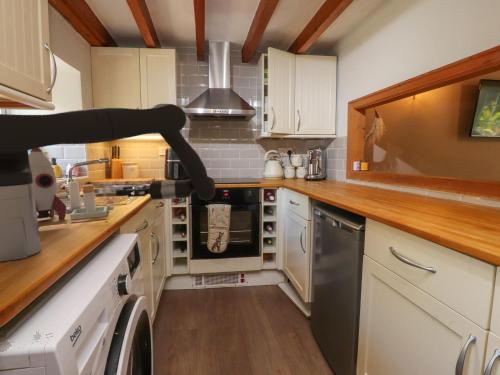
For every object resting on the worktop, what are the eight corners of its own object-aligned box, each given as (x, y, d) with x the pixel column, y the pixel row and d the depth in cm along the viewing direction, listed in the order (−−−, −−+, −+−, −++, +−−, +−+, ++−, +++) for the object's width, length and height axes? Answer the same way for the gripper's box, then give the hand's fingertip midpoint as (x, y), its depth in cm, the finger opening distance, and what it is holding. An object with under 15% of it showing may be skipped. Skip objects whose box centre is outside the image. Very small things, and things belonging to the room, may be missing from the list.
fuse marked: (95, 216, 102) (93, 185, 100) (84, 218, 100) (81, 185, 99) (96, 214, 105) (94, 184, 104) (86, 216, 104) (83, 184, 102)
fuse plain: (80, 212, 108) (77, 182, 106) (69, 213, 106) (66, 182, 105) (82, 210, 111) (79, 181, 110) (71, 211, 110) (68, 181, 108)
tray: (106, 220, 100) (105, 211, 100) (71, 223, 96) (70, 214, 95) (108, 214, 110) (107, 206, 110) (76, 217, 106) (75, 208, 105)
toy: (29, 230, 88) (17, 136, 84) (20, 225, 94) (8, 138, 90) (68, 223, 97) (59, 137, 93) (57, 219, 103) (48, 139, 99)
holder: (113, 213, 111) (112, 206, 111) (32, 221, 100) (31, 213, 100) (114, 210, 118) (113, 203, 117) (38, 217, 107) (37, 209, 106)
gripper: (165, 178, 113) (124, 179, 110) (160, 182, 99) (112, 183, 96) (166, 196, 113) (125, 198, 111) (161, 202, 100) (114, 204, 97)
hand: (119, 191), depth 103 cm, fingers open, 8 cm apart
